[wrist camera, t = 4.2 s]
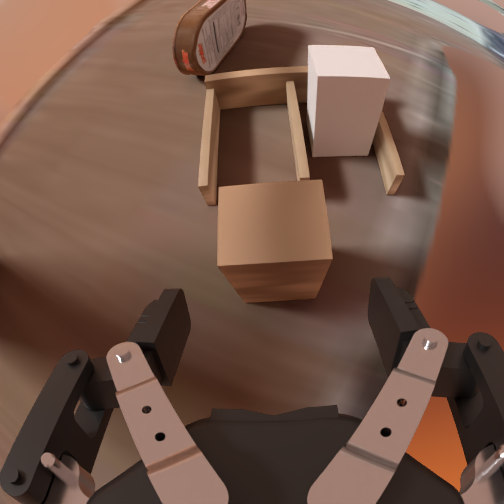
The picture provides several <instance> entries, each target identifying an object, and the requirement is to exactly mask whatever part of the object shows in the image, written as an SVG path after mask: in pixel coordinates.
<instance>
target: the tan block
mask: <svg viewBox="0 0 504 504" xmlns="http://www.w3.org/2000/svg"><path fill="white" fill-rule="evenodd" d="M332 259H333V257H332V248H331V240H330V232H329V224H328V217H327V210H326V203H325V196H324V189H323V183H322V180H303V181H286V182H271V183H258V184H246V185H234V186H224V187H219V198H218V249H217V266H218V267H219V269H220V270H221V271H222V273H223V274H224V275H225V277H226V278H227V279H228V281H229V282H230V283H231V285H232V286H233V287H234V289H235V290H236V291H237V293H238V294H239V295H240V296H241V298H242V299H243V300H244V302H245V303H247V302H268V301H286V300H302V299H316V297H317V294H318V292H319V290H320V288H321V285H322V283H323V281H324V278H325V276H326V274H327V271H328V269H329V267H330V264H331V262H332Z"/></svg>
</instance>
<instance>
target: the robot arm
mask: <svg viewBox="0 0 504 504" xmlns="http://www.w3.org/2000/svg"><path fill="white" fill-rule="evenodd" d="M368 320H369V324H370V327H371V329H372V332H373V335H374V337H375V340H376V343H377V346H378V349H379V351H380V354H381V357H382V360H383V363H384V366H385V369H386V372H387V375H388V379H387V381H386V383H385V385H384V386H383V388H382V390H381V392H380V393H379V395H378V397H377V398H376V400H375V402H374V403H373V405H372V406H371V408H370V410H369V411H368V413H367V414H366V416H365V417H364V419H363V420H361V419H358V418H356V417H353V416H349V415H345V414H338V408H337V405H332V406H321V407H307V408H303V409H299V410H295V411H292V412H288V413H284V414H279V415H267V414H262V413H257V412H252V411H247V410H243V409H212V413H211V417H209V418H204V419H201V420H198V421H195V422H193V423H191V424H188V425H187V426H185V427H184V425H183V424H182V422H181V420H180V419H179V417H178V415H177V414H176V412H175V410H174V408H173V407H172V405H171V403H170V402H169V400H168V398H167V396H166V395H165V393H164V391H163V389H162V387H161V385H164V386H171V385H172V382H173V379H174V376H175V373H176V370H177V367H178V364H179V361H180V358H181V356H182V353H183V350H184V347H185V344H186V341H187V338H188V335H189V332H190V328H191V321H190V315H189V312H188V308H187V304H186V300H185V296H184V292H183V290H182V289H164V291H163V292H162V294H161V296H160V298H159V300H154V301H153V302H152V303H150V304H149V305H148V306H147V307H146V308H145V310H144V311H143V313H142V316H141V317H140V318H139V320H138V323H137V324H136V325H135V327H134V329H133V331H132V332H131V334H130V336H129V338H128V340H127V341H126V342H123V343H120V344H117V345H115V346H114V347H113V348H111V349H110V350H109V352H108V353H107V356H106V357H102V358H96V359H90V358H89V356H88V354H87V353H86V352H85V351H83V350H73V351H70V352H68V353H66V354H65V355H64V356H63V357H62V358H61V359H60V360H59V362H58V364H57V365H56V367H55V369H54V370H53V372H52V374H51V375H50V377H49V379H48V381H47V382H46V384H45V386H44V387H43V389H42V391H41V393H40V394H39V396H38V398H37V400H36V402H35V403H34V405H33V407H32V409H31V411H30V413H29V415H28V416H27V418H26V420H25V422H24V424H23V426H22V428H21V430H20V432H19V434H18V436H17V438H16V440H15V442H14V444H13V446H12V448H11V450H10V453H9V455H8V457H7V459H6V461H5V463H4V466H3V468H2V470H1V473H0V484H1V487H2V489H3V490H4V491H5V492H6V493H7V494H8V495H10V496H11V497H13V498H14V499H16V500H17V501H18V502H20V503H21V504H504V352H503V350H502V349H501V347H500V345H499V343H498V342H497V341H496V339H495V338H494V337H492V336H491V335H489V334H486V333H481V332H478V333H474V334H472V335H471V336H470V337H469V338H468V341H467V343H454V342H448V340H447V338H446V336H445V335H444V334H443V333H441V332H440V331H438V330H435V329H431V328H430V326H429V325H428V323H427V321H426V319H425V318H424V316H423V314H422V313H421V311H420V310H419V309H418V306H417V304H416V303H415V301H414V299H413V298H412V296H411V295H410V293H408V292H407V291H406V290H404V289H403V288H396V287H395V285H394V283H393V281H392V280H391V278H390V277H384V278H373V279H372V281H371V288H370V297H369V305H368ZM431 396H435V397H447V400H448V403H449V406H450V409H451V412H452V415H453V418H454V421H455V424H456V427H457V430H458V434H459V437H460V440H461V444H462V447H463V451H464V454H465V458H466V462H467V467H466V468H465V469H464V470H463V472H462V475H461V479H460V483H461V488H460V492H458V490H456V489H455V488H454V487H453V486H452V485H451V484H449V483H448V482H446V481H445V480H444V479H442V478H441V477H439V476H438V475H436V474H435V473H434V472H432V471H431V470H429V469H428V468H427V467H425V466H424V465H422V464H421V463H420V462H418V461H417V460H416V459H414V458H413V457H412V456H410V455H409V454H407V453H406V452H405V451H406V450H407V448H408V445H409V443H410V442H411V440H412V437H413V435H414V433H415V431H416V429H417V427H418V425H419V423H420V420H421V418H422V416H423V414H424V411H425V409H426V407H427V404H428V402H429V399H430V397H431ZM78 400H80V401H81V402H80V405H79V407H78V409H77V411H76V413H75V416H74V409H75V407H76V405H77V402H78ZM119 407H120V408H121V411H122V413H123V416H124V418H125V421H126V423H127V426H128V428H129V431H130V433H131V435H132V438H133V440H134V442H135V445H136V447H137V449H138V451H139V454H140V456H141V458H142V459H141V460H140V461H138V462H137V463H136V464H134V465H133V466H132V467H130V468H129V469H127V470H126V471H125V472H123V473H122V474H120V475H119V476H117V477H116V478H115V479H113V480H112V481H110V482H109V483H107V484H106V485H104V486H103V487H101V488H100V489H98V490H97V491H96V492H95V482H94V479H93V477H92V476H91V472H92V469H93V466H94V462H95V459H96V457H97V454H98V451H99V448H100V445H101V442H102V439H103V436H104V433H105V431H106V428H107V425H108V422H109V420H110V417H111V414H112V411H113V409H114V408H119Z"/></svg>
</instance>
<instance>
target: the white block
mask: <svg viewBox="0 0 504 504" xmlns="http://www.w3.org/2000/svg"><path fill="white" fill-rule="evenodd" d="M389 82H390V77H389V75H388V73H387V71H386V69H385V67H384V65H383V64H382V62H381V60H380V58H379V56H378V55H377V53H376V51H375V49H374V48H373V47H360V46H338V45H308V95H307V128H308V134H309V140H310V146H311V151H312V157H330V156H368V154H369V151H370V148H371V144H372V141H373V138H374V135H375V131H376V128H377V125H378V121H379V118H380V115H381V111H382V108H383V104H384V101H385V97H386V93H387V90H388V86H389Z"/></svg>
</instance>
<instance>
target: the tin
mask: <svg viewBox="0 0 504 504" xmlns="http://www.w3.org/2000/svg"><path fill="white" fill-rule="evenodd" d="M246 20H247V13H246V0H200V1H199V2H198V3H196V4H195V5H194V6H193V7H191V8H190V9H189V10H188V11H187V12H185V13H184V14H183V16H182V17H181V19H180V20H179V22H178V24H177V27H176V30H175V33H174V37H173V58H174V61H175V64H176V66H177V68H178V70H179V71H180V72H181V73H183V74H185V75H190V74H192V75H202V76H204V75H209V74H211V73H213V72H214V71H215V70H216V69H217V67H218V66H219V65H220V63H221V62H222V61H223V60H224V58H225V57H226V56H227V55H228V53H229V52H230V51H231V49H232V48H233V47H234V46H235V44H236V43H237V42H238V41H239V39H240V38H241V36H242V34H243V32H244V29H245V25H246Z"/></svg>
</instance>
